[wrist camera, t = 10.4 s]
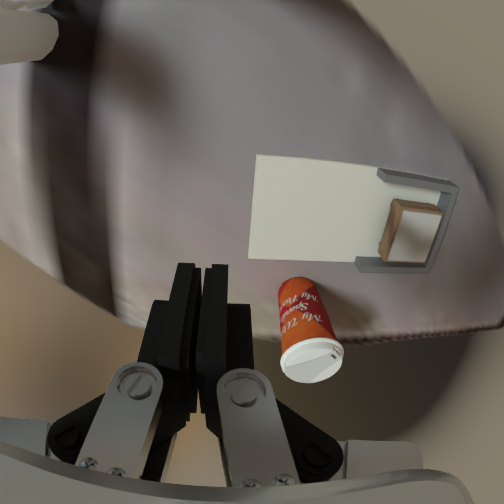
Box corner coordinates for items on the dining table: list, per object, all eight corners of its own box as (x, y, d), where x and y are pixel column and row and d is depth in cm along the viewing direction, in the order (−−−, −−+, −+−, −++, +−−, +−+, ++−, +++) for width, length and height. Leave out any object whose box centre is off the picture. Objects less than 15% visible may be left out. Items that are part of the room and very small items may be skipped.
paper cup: (303, 261, 43) (326, 336, 31) (331, 292, 47) (356, 365, 35) (259, 290, 46) (267, 368, 34) (290, 318, 49) (303, 392, 37)
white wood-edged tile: (389, 195, 38) (402, 207, 34) (430, 201, 38) (444, 213, 35) (374, 247, 42) (384, 262, 39) (414, 249, 43) (425, 264, 39)
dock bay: (256, 153, 35) (258, 160, 32) (447, 179, 37) (459, 187, 34) (248, 256, 42) (248, 269, 40) (420, 262, 44) (428, 273, 42)
